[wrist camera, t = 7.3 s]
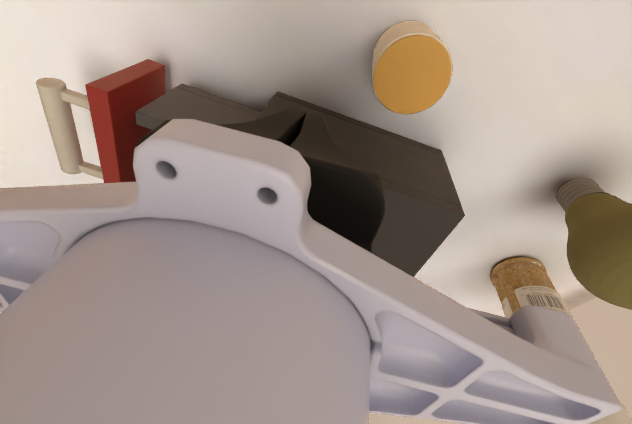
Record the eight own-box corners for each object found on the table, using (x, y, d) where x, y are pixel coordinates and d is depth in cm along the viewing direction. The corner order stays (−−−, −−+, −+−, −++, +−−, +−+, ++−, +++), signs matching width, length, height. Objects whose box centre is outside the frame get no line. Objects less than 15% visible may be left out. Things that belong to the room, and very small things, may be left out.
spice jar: (479, 279, 30) (534, 445, 20) (508, 249, 27) (590, 424, 17) (524, 291, 30) (601, 463, 20) (557, 262, 27) (669, 445, 17)
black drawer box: (251, 210, 29) (219, 272, 23) (277, 90, 22) (240, 137, 16) (376, 251, 30) (376, 321, 24) (441, 150, 22) (465, 215, 17)
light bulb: (518, 217, 25) (582, 329, 17) (538, 155, 22) (628, 261, 14) (598, 215, 24) (706, 336, 16) (633, 150, 20) (789, 262, 13)
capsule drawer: (101, 162, 27) (47, 202, 22) (77, 33, 20) (-7, 52, 16) (278, 221, 28) (260, 269, 23) (309, 116, 21) (292, 156, 17)
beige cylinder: (378, 98, 21) (379, 123, 17) (366, 33, 19) (364, 48, 15) (441, 81, 20) (455, 105, 16) (436, 9, 17) (451, 20, 14)
